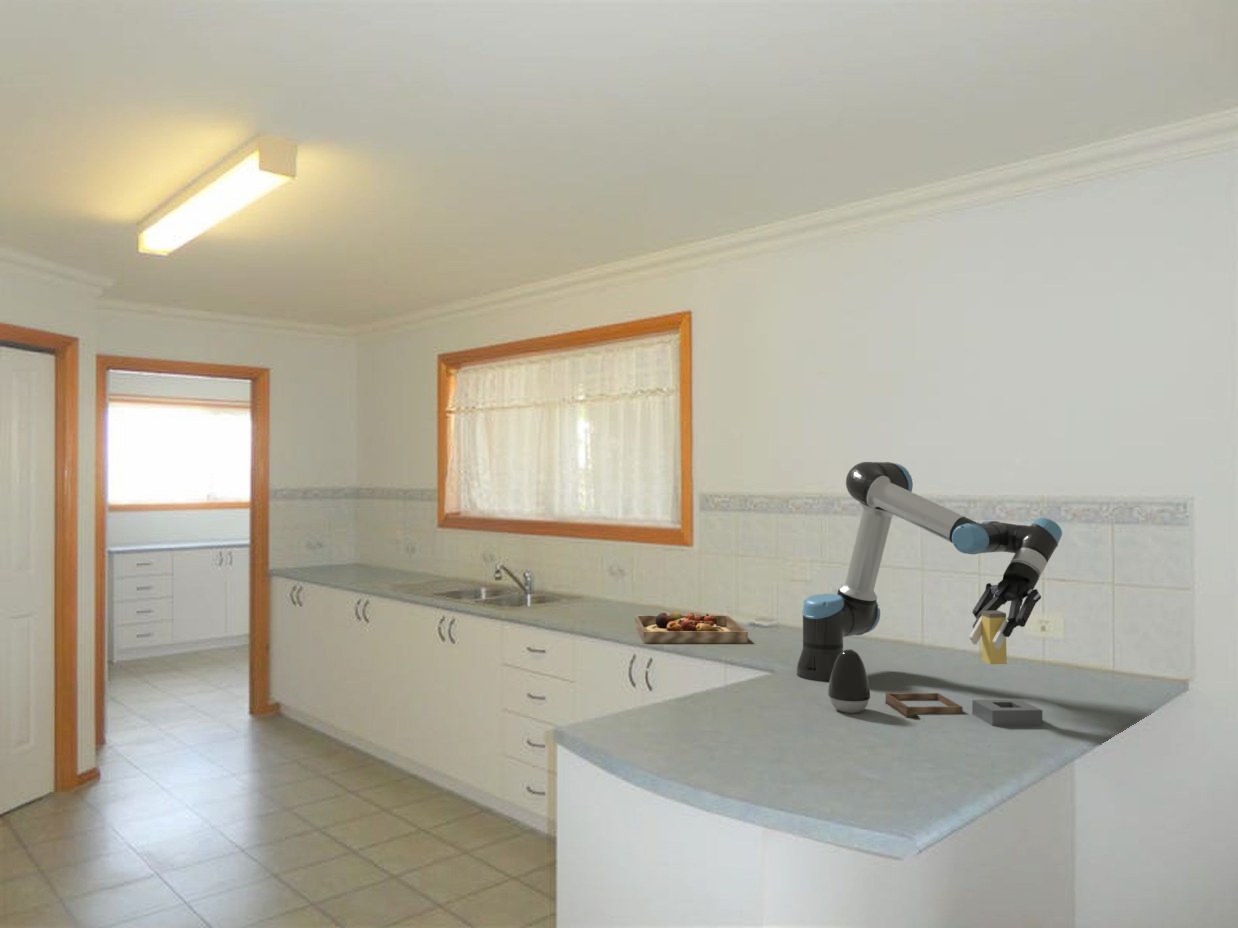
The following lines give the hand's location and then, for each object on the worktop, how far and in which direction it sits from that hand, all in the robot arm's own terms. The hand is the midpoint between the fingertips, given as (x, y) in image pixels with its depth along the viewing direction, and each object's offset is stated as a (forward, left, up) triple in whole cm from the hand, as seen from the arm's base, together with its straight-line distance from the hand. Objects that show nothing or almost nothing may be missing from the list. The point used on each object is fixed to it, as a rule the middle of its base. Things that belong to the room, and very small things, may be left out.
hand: (984, 642), depth 209 cm
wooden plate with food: (-54, +122, -20) cm, 135 cm away
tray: (-9, +13, -19) cm, 25 cm away
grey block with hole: (+6, 0, -19) cm, 20 cm away
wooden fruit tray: (-53, +122, -19) cm, 135 cm away
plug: (+3, +2, -5) cm, 6 cm away
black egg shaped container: (-28, +13, -19) cm, 37 cm away
